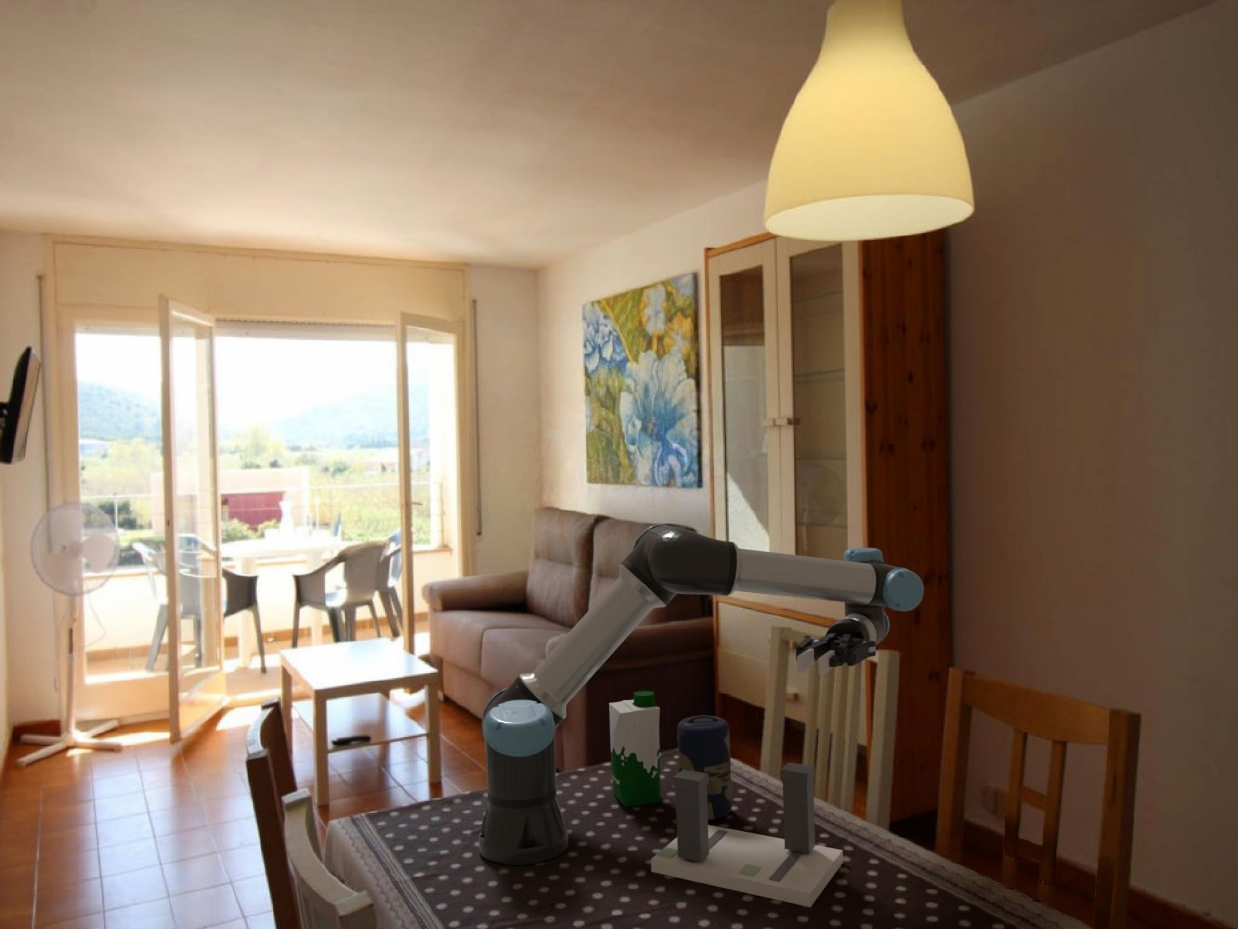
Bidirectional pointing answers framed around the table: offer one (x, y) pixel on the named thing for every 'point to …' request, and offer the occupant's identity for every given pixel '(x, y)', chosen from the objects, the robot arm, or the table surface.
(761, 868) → the switch board
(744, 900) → the table surface
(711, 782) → the canister
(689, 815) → the switch
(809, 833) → the switch
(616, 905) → the table surface
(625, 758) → the milk carton
